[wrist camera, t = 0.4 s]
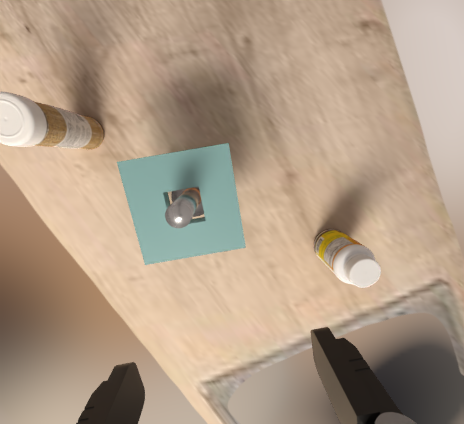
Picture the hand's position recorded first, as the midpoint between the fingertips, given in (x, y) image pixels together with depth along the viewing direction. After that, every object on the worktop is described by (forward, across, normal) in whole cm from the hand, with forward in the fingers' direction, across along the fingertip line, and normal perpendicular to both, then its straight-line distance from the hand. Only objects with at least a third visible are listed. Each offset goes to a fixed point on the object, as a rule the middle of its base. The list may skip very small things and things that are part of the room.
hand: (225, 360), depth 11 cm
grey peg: (+27, +4, -4) cm, 28 cm away
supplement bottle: (+27, -16, +9) cm, 33 cm away
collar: (+19, +4, -4) cm, 20 cm away
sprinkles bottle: (+28, +16, -15) cm, 36 cm away
